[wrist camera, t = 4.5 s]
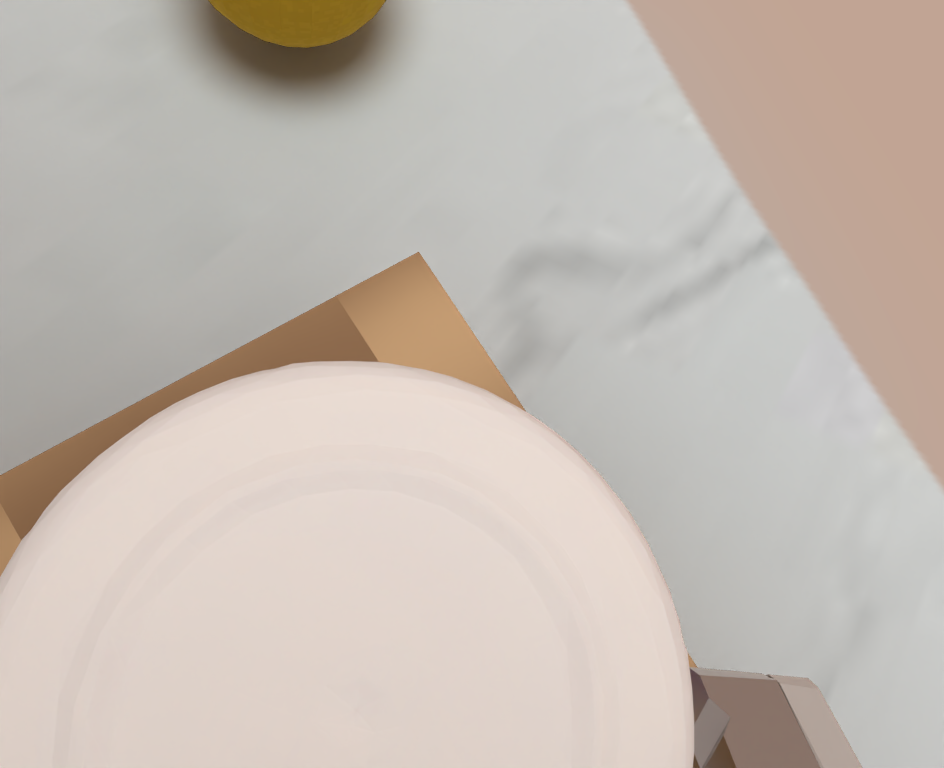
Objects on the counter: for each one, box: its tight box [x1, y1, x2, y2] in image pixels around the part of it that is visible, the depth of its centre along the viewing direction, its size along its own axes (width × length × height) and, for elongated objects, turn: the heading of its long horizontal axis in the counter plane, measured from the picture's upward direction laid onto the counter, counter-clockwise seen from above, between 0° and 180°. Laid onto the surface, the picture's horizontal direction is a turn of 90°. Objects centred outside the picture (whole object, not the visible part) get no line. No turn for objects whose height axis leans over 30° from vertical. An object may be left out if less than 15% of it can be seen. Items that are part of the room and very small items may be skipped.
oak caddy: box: [0, 252, 698, 668], centre depth 15 cm, size 11×11×4 cm
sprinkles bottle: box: [0, 361, 694, 768], centre depth 11 cm, size 5×5×14 cm
